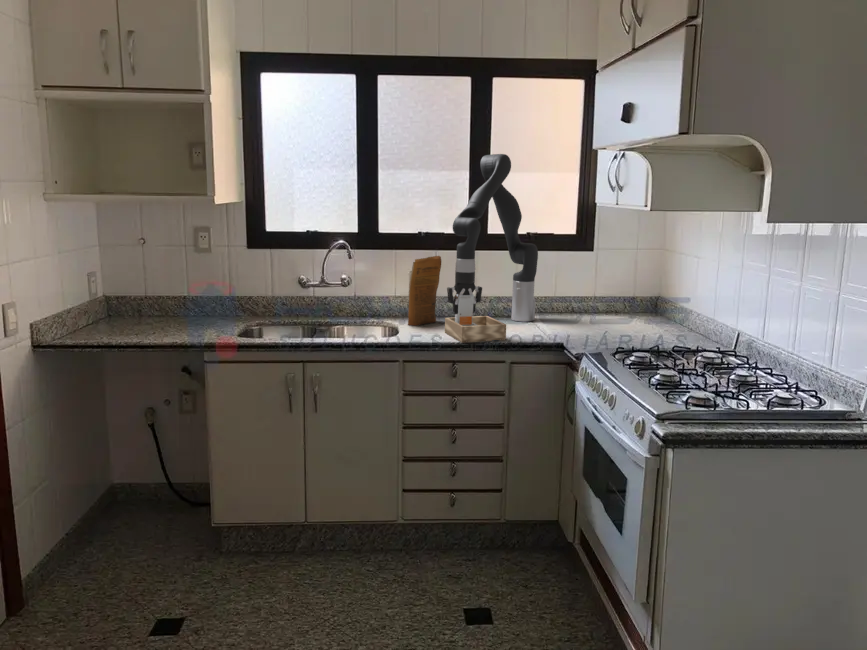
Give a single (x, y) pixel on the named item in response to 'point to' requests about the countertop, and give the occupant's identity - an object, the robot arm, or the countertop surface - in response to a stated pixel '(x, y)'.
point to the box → (476, 330)
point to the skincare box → (465, 310)
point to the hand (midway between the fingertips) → (464, 313)
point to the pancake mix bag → (423, 290)
